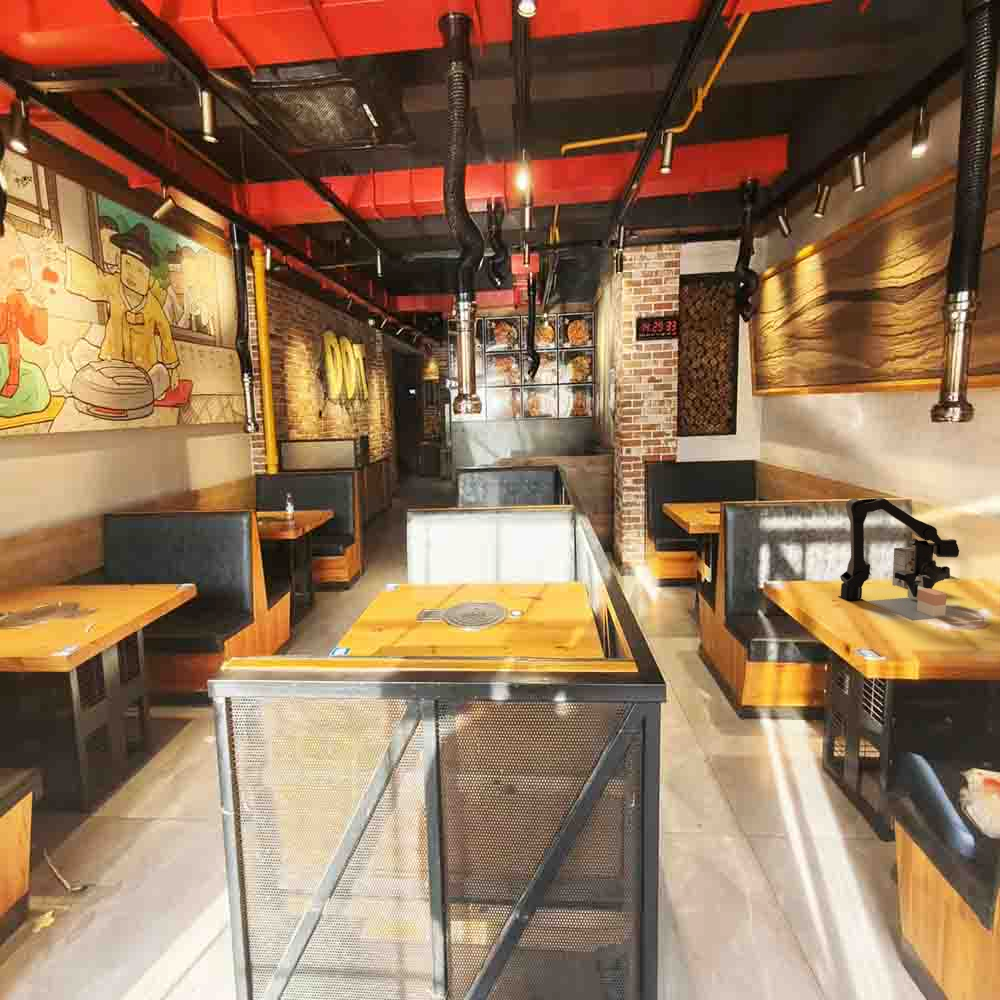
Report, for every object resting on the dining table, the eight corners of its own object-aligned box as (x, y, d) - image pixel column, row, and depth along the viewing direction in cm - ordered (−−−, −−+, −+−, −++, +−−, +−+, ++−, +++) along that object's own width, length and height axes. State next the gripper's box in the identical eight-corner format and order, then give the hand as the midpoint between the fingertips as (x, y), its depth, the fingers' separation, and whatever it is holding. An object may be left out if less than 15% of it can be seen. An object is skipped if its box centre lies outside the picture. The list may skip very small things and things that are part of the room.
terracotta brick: (945, 604, 206) (946, 594, 206) (934, 605, 206) (935, 595, 205) (928, 598, 213) (929, 588, 213) (917, 599, 212) (918, 589, 212)
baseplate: (912, 621, 204) (913, 609, 203) (865, 602, 225) (865, 591, 224) (973, 616, 207) (974, 604, 206) (920, 597, 228) (921, 586, 228)
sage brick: (933, 601, 219) (934, 591, 219) (922, 602, 219) (923, 592, 218) (918, 595, 226) (918, 585, 226) (907, 596, 226) (908, 586, 225)
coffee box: (911, 583, 247) (913, 546, 244) (923, 587, 240) (926, 549, 238) (891, 584, 245) (893, 547, 243) (903, 589, 239) (906, 551, 237)
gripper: (919, 563, 211) (916, 604, 213) (964, 560, 213) (961, 601, 216) (894, 556, 222) (892, 595, 224) (938, 553, 224) (935, 592, 227)
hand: (920, 596), depth 222 cm, fingers closed on sage brick, 5 cm apart
